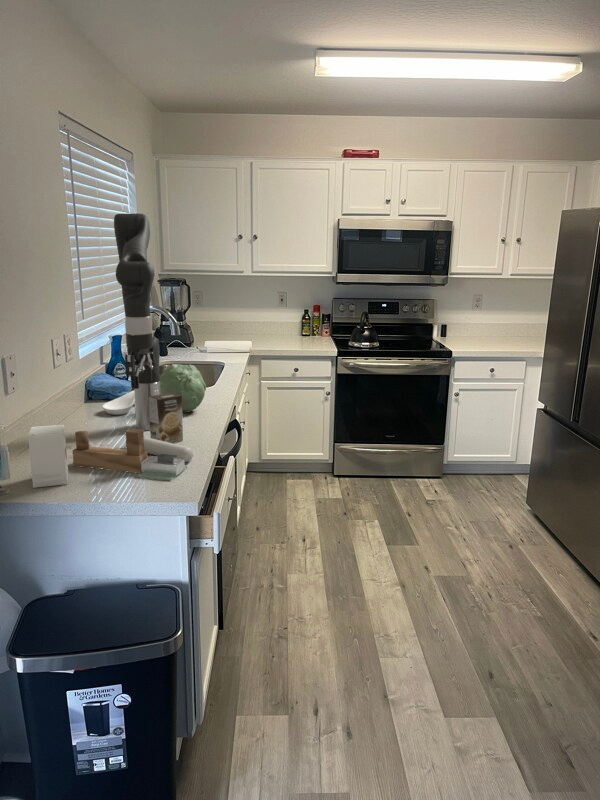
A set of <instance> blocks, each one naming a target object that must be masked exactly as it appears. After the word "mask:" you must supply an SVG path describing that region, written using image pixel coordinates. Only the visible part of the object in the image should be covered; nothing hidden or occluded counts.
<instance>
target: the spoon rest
mask: <svg viewBox="0 0 600 800" xmlns="http://www.w3.org/2000/svg"><path fill="white" fill-rule="evenodd" d="M133 405H135V394H134V390H130V391H129V392H127V393H125V394H123V395H121V396H119V397H116V398H115V399H112V400H110V401H107V402H105V403H103V404H102V406H101V408H102V410H103V411H104V412H105V413H107V414H109V415H113V416H120V415H126V414H127V413H128V412H129V411H130V410H132V407H133Z"/></svg>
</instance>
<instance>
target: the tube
mask: <svg viewBox="0 0 600 800" xmlns="http://www.w3.org/2000/svg"><path fill="white" fill-rule="evenodd" d="M125 448H126V449H127V445H126V444H125ZM144 450H145V452H147V454H149V455H152V456H156V457H158V456H159V455H160V454H169V455H177V459H184V462H185V463H189V462H190V461H192V459H193V457H194V452H193V449H192V448H190V447H189V446H184V445H182V444H181V445H180V444H176V443H169V442H164V441H160V440H156V439H151V437H147V436H144Z"/></svg>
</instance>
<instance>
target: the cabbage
mask: <svg viewBox="0 0 600 800" xmlns="http://www.w3.org/2000/svg"><path fill="white" fill-rule="evenodd" d="M206 390H207V385H206V382H205V380H204V378H203V376H202V373H201V372H200V370H199V369H198V368H197V367H196V366H195V365H193V364H180V363H172V364H171V363H170V364H168V365H167V366H165V368H163V370H162V372H161V374H160V391H161V394H167V393H174V394H179V395H181V396H182V414H184V413H189V412H193V411H194V410H196V409H197V408H198V407H199V406H201V403H202V402H203V400H204V398H205V395H206Z"/></svg>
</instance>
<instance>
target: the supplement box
mask: <svg viewBox="0 0 600 800" xmlns="http://www.w3.org/2000/svg"><path fill="white" fill-rule="evenodd" d="M27 438H28V447H29V448H28V449H29V458H30V460H29V461H30V469H31V479H32V488H43V487H52V486H62V485H68V483H69V468H68V467H69V466H68V455H67V454H68V453H67V444H66V443H67V442H66V440H67V439H66V432H65V424H54V425H53V424H52V425H40V426H31V427H30V428H29V431H28V435H27Z"/></svg>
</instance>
